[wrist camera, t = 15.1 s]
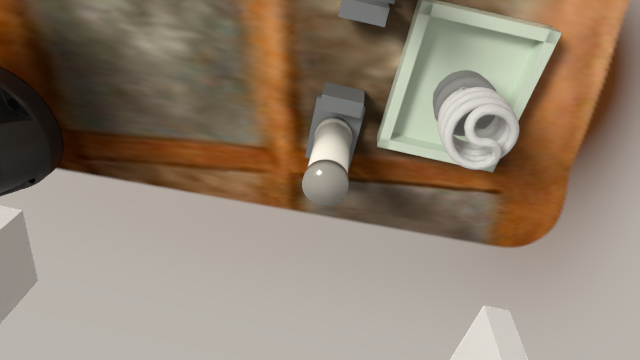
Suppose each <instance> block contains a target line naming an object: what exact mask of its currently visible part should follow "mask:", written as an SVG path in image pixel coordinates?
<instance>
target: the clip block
mask: <svg viewBox="0 0 640 360" xmlns="http://www.w3.org/2000/svg"><path fill="white" fill-rule="evenodd" d="M389 3H391V4H394V3H395V0H342V1H341V6H340V11H339V16H338V17H342V18H346V19H351V20H355V21H360V22H364V23H368V24H373V25H377V26H382V27H385V24H386V21H387V17H388V13H389V10H390V7H389ZM364 94H365V91H363V90H359V89H355V88H350V87H346V86H341V85H337V84H332V83H328V82H325V86H324V89H323V93H322V96H321V95H318V96H317V100H316V105H315V110H314V115H313V120H312V125H311V130H310V135H309V140H308V145H307V150H306V155H305V157H306V158H309V161H310V157H311V153H312V149H313V145H314V141H315V137H314V136H315V131H316V128H317V126H318V124H319V123H320V122H321V121H322V120H323V119H325V118H328V117H339V118H342V119H344V120H345V121H347V122H348V123H349V125H350V126H351V128H352V131H353V137H352V143H351V146H350V155H349V166H348V167H350V164H351V161H352V157H353V153H354V150H355V146H356V142H357V139H358V135H359V131H360V128H361V124H362V120H363V117H364V113H365V109H366V106H365V105H364ZM308 165H309V162H308ZM307 167H308V166H307Z"/></svg>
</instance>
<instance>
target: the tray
mask: <svg viewBox="0 0 640 360" xmlns="http://www.w3.org/2000/svg"><path fill="white" fill-rule="evenodd" d="M561 34H562V32H560V31H558V30H557V29H555V28H553V27H552V26H548V25H544V24H540V23H535V22H531V21H527V20H522V19H518V18H514V17H509V16H505V15H501V14H496V13H492V12H487V11H483V10H479V9H474V8H470V7H466V6H461V5H457V4H453V3H448V2H444V1H439V0H418V1H417V5H416V8H415V11H414V15H413V18H412V21H411V25H410V28H409V31H408V35H407V38H406V41H405V45H404V48H403V51H402V54H401V58H400V61H399V64H398V68H397V71H396V74H395V78H394V81H393V84H392V88H391V91H390V94H389V98H388V101H387V104H386V108H385V111H384V114H383V118H382V121H381V124H380V128H379V131H378V134H377V147H381V148H386V149H390V150H395V151H399V152H404V153H408V154H413V155H417V156H422V157H426V158H431V159H435V160H440V161H444V162H449V163H453V164H457V163H456V162H455V161H453V160H452V159H451V158H450V156H449V155H448V153H447V152H446V150H445V148H444V147H443V145H442V142H441V139H440V136H439V134H438V122H437V120H436V119H435V116H434V109H433V93H434V91H435V89H436V87H437V86H438V84H439V82H441V81H442V80H443V79H444V78H445V77H446V76H448V75H450V74H451V73H453V72H457V71H461V70H470V71H474V72H477V73H479V74H480V75H481V76H483V77H484V78H486V79H487V80H488V81H489V82H490V83H491V84H492V86H493V87H494V88H495V89H496V92H497V93H498V94H499V95H500V96H502V97H503V98H505V100H506V101H507V102H508V103H509V105H510V107H511V108H512V109H513V111H514V113H515V116H516V118H517V120H518V121H519V119H520V117H521V115H522V112H523V110H524V108H525V106H526V104H527V102H528V100H529V98H530V96H531V94H532V92H533V90H534V88H535V86H536V84H537V82H538V80H539V78H540V76H541V74H542V72H543V70H544V68H545V66H546V64H547V62H548V60H549V58H550V56H551V54H552V52H553V50H554V48H555V46H556V44H557V42H558V40H559V38H560V36H561ZM492 122H493V121H492ZM492 122H491V123H492ZM486 128H487V127H486ZM454 136H455V137H456V138H458V139H460V140H463V141H468V139H467V138H466V136H457V135H454ZM489 137H490V136H489ZM486 138H488V137H486ZM468 142H469V141H468ZM498 161H499V160H498ZM498 161H497V162H496V163H495V164H494V165H492V166H491V167H488V168H486V169H481V170H485V171H489V172H493V171H494V169H495V167H496V165H497V163H498ZM458 165H459V164H458Z"/></svg>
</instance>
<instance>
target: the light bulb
mask: <svg viewBox="0 0 640 360" xmlns="http://www.w3.org/2000/svg"><path fill="white" fill-rule="evenodd" d="M433 109H434V116H435V119H436V120H437V122H438V134H439V136H440V139H441V142H442V145H443V147H444V148H445V150H446V152H447V153H448V155H449V156H450V158H451V159H452V160H453V161H455V162H456V163H457V164H459V165H460V166H462V167H465V168H468V169H472V170H481V169H486V168H488V167H491V166H492V165H494V164H495V163H496V162H497V161H498V160H499V159H500V158H502V157H503V156H505V155H506V154H507V153H508V152H509V151H510V150H511V149H512V148H513V146H514V145H515V143H516V141H517V139H518V136H519V123H518V120H517V118H516V116H515V113H514V111H513V109H512V108H511V107H510V105H509V103H508V102H507V101H506V100H505V98H503V97H502V96H500V95H499V94H498V93H497V92H496V89H495V88H494V87H493V86H492V84H491V83H490V82H489V81H488V80H487V79H486V78H484V77H483V76H481V75H480V74H479V73H477V72H474V71H470V70H461V71H457V72H453V73H451V74H450V75H448V76H446V77H445V78H444V79H443V80H442V81H441V82H439V84H438V86H437V87H436V89H435V91H434V93H433ZM492 121H493V122H492ZM491 122H492V123H491ZM486 127H487V128H486ZM454 135H457V136H466V138H467V139H468V141H469V142H468V141H463V140H460V139H458V138H456V137H455V136H454ZM489 136H490V137H489ZM486 137H488V138H486Z"/></svg>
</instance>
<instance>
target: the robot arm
mask: <svg viewBox="0 0 640 360" xmlns="http://www.w3.org/2000/svg"><path fill="white" fill-rule="evenodd" d="M62 148H63V146H62V137H61V133H60V129H59V127H58V124H57V122H56V120H55V118H54V116H53V114H52V113H51V111H50V109H49V108H48V106H47V105H46V104H45V102H44V101H43V100H42V99H41V98H40V97H39V95H38V94H37V93H36V92H35V91H34V90H33V89H32V88H30V87H29V86H28V85H27V84H26V83H25V82H23V81H22V80H21V79H19V78H18V77H16V76H15V75H13V74H11V73H10V72H8V71H6V70H4V69H2V68H0V196H3V195H6V194H9V193H12V192H15V191H18V190H21V189H25V188H28V187H30V186H33V185H35V184H36V183H38V182H40V181H41V180H42V179H44V178H45V177H46V176H47V175H49V174H50V173H51V172H52V171H53V170H54V169H55V168H56V167H57V165H58V164H59V162H60V159H61V156H62ZM37 281H38V279H37V275H36V270H35V265H34V261H33V257H32V252H31V247H30V243H29V238H28V234H27V229H26V225H25V220H24V216H23V212H22V210H18V209H14V208H9V207H4V206H0V323H1V322H2V321H3V320H4V318H6V316H7V315H8V314H9V313H10V312H11V311H12V310H13V308H14V307H15V306H16V305H17V304H18V303H19V301H20V300H21V299H22V298H23V297H24V296H25V295H26V294H27V292H28V291H29V290H30V289H31V288H32V287H33V286H34V284H35V283H36V282H37ZM450 360H528V358H527V355H526V353H525V350H524V347H523V345H522V342H521V340H520V337H519V334H518V332H517V329H516V327H515V324H514V322H513V319H512V316H511V314H510V311H509V310H503V309H499V308H494V307H489V306H483V308H482V309H481V311H480V312H479V314H478V316H477V317H476V319H475V320H474V322H473V324H472V325H471V327H470V329H469V330H468V332H467V333H466V335H465V337H464V338H463V340H462V341H461V343H460V344H459V346H458V348H457V349H456V351H455V352H454V354H453V356H452V357H451V359H450Z"/></svg>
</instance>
